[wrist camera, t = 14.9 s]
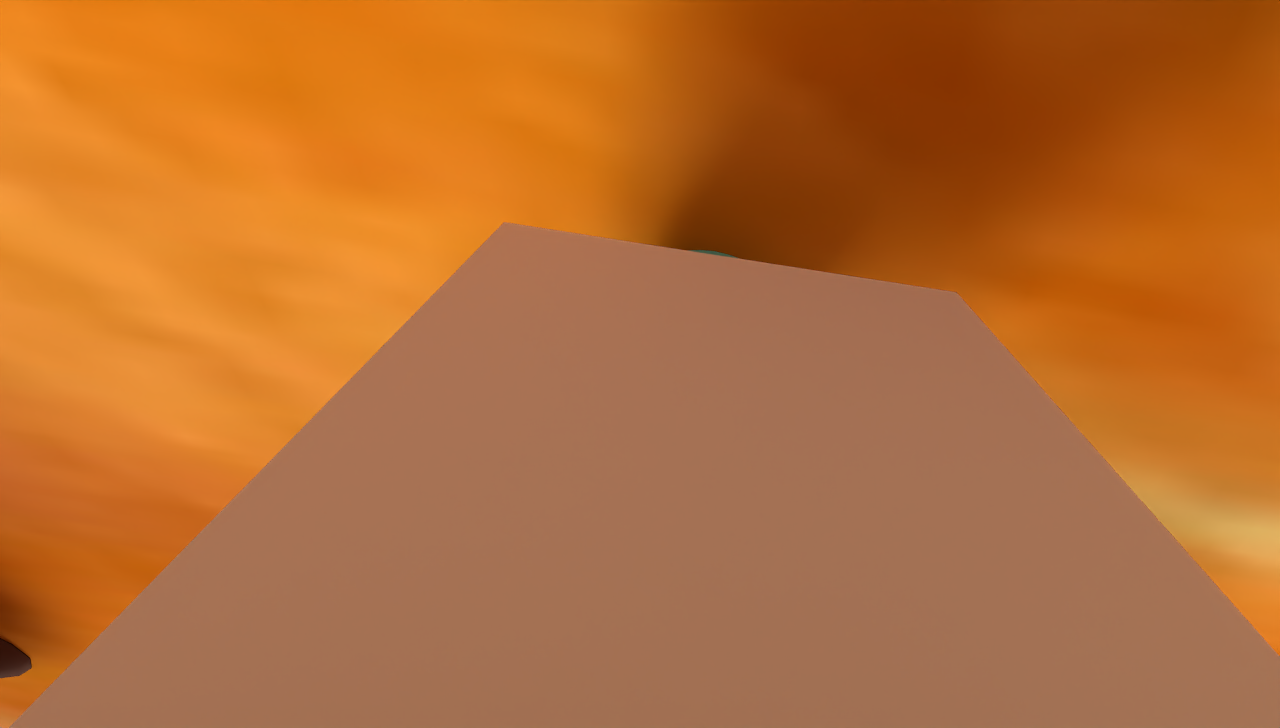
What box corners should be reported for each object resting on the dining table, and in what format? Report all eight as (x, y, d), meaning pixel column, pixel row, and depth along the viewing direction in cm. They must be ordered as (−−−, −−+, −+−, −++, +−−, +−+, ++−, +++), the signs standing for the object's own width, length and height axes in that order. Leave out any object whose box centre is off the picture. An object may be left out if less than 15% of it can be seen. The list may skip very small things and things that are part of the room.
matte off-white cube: (815, 568, 13) (948, 1262, 6) (512, 517, 13) (275, 1128, 6) (956, 292, 9) (2165, 1653, 1) (504, 222, 9) (-382, 1129, 2)
